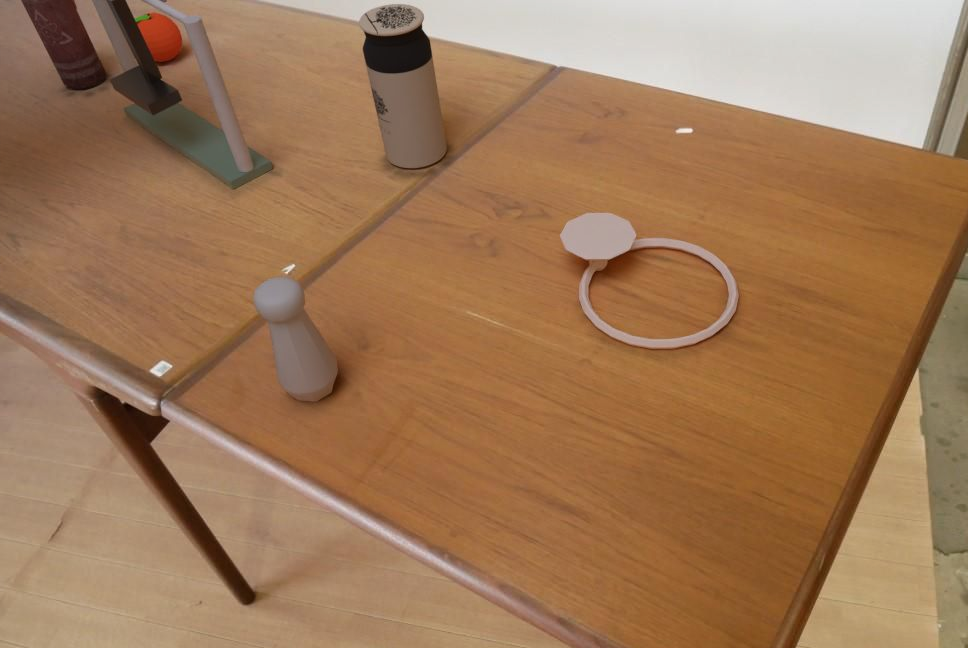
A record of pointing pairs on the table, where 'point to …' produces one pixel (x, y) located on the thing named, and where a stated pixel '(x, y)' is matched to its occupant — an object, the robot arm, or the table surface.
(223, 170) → the rack
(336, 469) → the table surface
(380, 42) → the travel mug
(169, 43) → the clementine
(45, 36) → the can
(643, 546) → the table surface
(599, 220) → the hand towel holder
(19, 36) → the table surface
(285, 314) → the salt shaker
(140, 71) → the hanger
